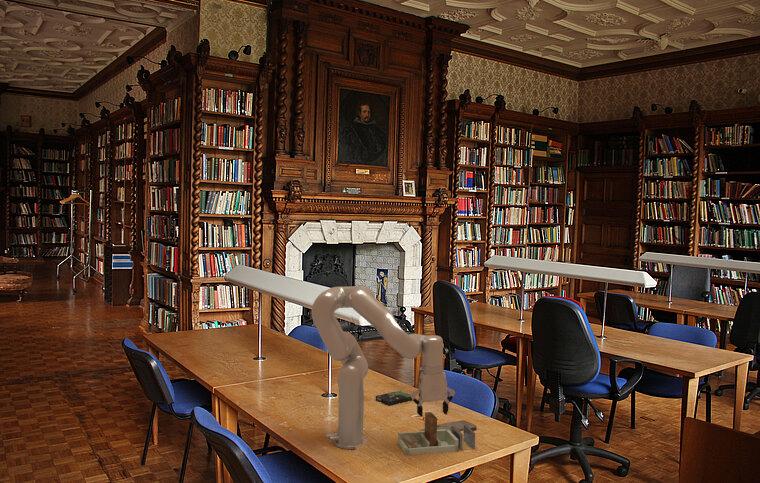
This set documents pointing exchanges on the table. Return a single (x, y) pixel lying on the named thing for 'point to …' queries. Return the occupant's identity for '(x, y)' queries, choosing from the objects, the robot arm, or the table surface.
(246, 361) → the table surface
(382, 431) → the table surface
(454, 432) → the stand
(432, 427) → the walnut board
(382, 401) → the disk drive
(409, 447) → the offcut lower
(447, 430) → the tray
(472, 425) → the stone slab
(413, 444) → the offcut upper
